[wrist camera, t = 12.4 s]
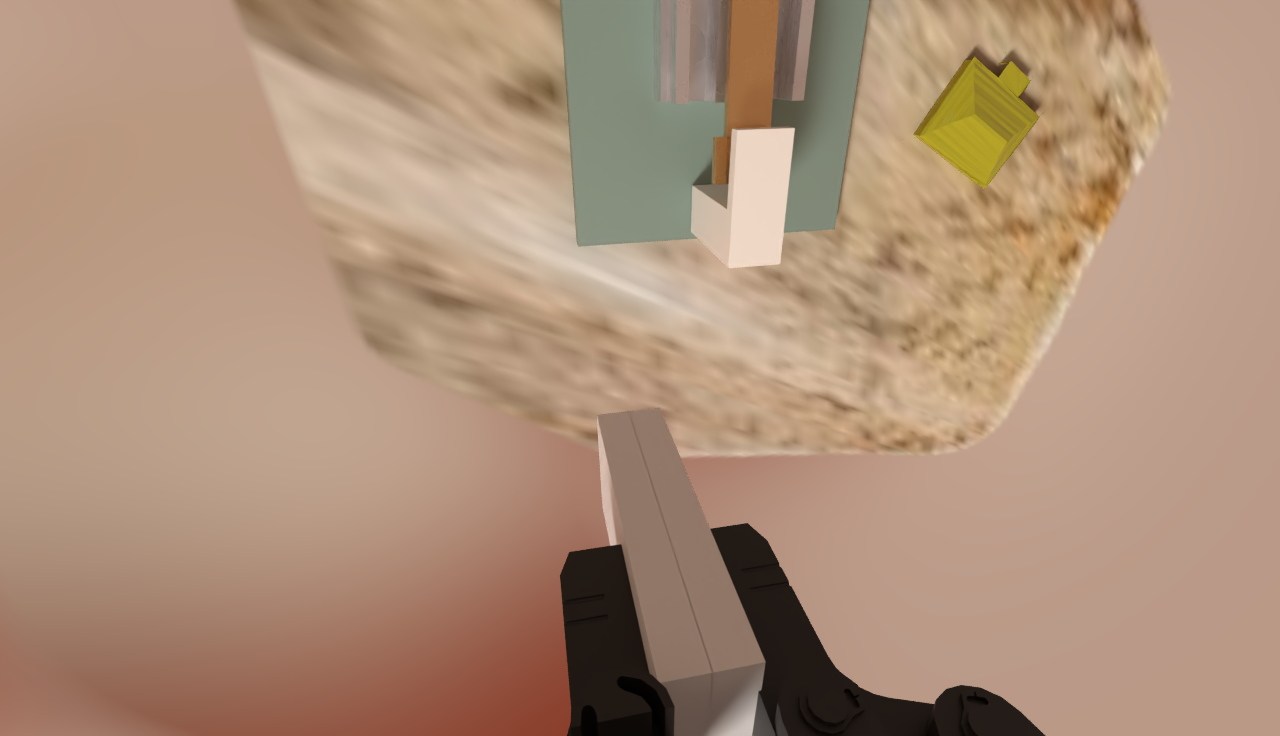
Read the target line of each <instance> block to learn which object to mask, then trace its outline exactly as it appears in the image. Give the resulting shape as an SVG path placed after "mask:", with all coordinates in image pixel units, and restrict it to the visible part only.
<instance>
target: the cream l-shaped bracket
mask: <svg viewBox="0 0 1280 736" xmlns="http://www.w3.org/2000/svg"><path fill="white" fill-rule="evenodd" d="M794 132H795V128H793V127H759V128H732V135H731V152H730V169H729V184H723V185H714V184H709V185H692V212H691V232H692V233H693V234H694V235H695V236H696V237H697V238H698V239H699V240H700V241H701V242H702V243H703V244H704V245H705V246H706V247H707V248H708V249H709V250H710V251H711V252H712V253H713V254H714V255H715V256H716V257H717V258H719V259H720V260H721V261H722V262H723V263H724V264H725V265H726V266H727V267H728V268H736V267H749V266H762V265H775V264H780V260H781V251H782V241H783V232H784V223H785V214H786V205H787V196H788V187H789V177H790V168H791V159H792V150H793V141H794Z"/></svg>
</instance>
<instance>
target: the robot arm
mask: <svg viewBox="0 0 1280 736" xmlns="http://www.w3.org/2000/svg"><path fill="white" fill-rule="evenodd" d="M597 424H598V441H599V458H600V474H601V490H602V505H603V511H604V516H605V521H606V525H607V531H608V536H609V541H610V546H606V547H600V548H593V549H587V550H580V551H574V552H569V554H568V557H567V559H566V562H565V564H564V567H563V569H562V572H561V575H560V580H561V591H562V604H563V616H564V627H565V640H566V651H567V662H568V675H569V686H570V698H571V723H570V727H569V731H568V734H567V736H1045V735H1044V734H1043V733H1042V732H1041V731H1040V730H1039V729H1038V728H1037V727H1036V726H1035V725H1034V724H1032V722H1031V721H1029V720H1028V719H1027V718H1026V717H1025V716H1024V715H1023V714H1022V713H1021V712H1020V711H1019V710H1017V709H1016V708H1015V707H1013V706H1012V705H1011V704H1009V703H1008V702H1007V701H1006V700H1004V699H1003V698H1002V697H1000V696H998V695H995V694H993V693H991V692H989V691H987V690H984V689H982V688H979V687H972V686H964V685H960V686H956V687H953V688H949V689H946V690H945V691H944V692H943V693H942V694H941V695H940V696H939V697H938V698H937V699H936V701H935V704H929V703H922V702H915V701H908V700H901V699H893V698H888V697H883V696H880V695H876V694H873V693H871V692H868V691H866V690H864V689H862V688H860V687H858V685H857V684H856V683H854V682H853V681H852V680H850V679H849V678H847V677H846V676H845V675H843V674H842V673H841V672H840V671H839V670H838V669H837V668H836V667H835V666H834V664H833V663H832V661H831V660H830V658H829V657H828V655H827V653H826V651H825V649H824V648H823V646H822V644H821V642H820V640H819V638H818V636H817V634H816V632H815V631H814V629H813V627H812V625H811V624H810V621H809V619H808V617H807V616H806V613H805V611H804V610H803V608H802V606H801V604H800V602H799V600H798V598H797V596H796V594H795V592H794V591H793V589H792V587H791V586H789V581H788V579H787V577H786V576H785V574H784V572H783V570H782V568H781V567H780V566H779V562H778V560H777V558H776V556H775V554H774V553H773V551H772V549H771V547H770V545H769V543H768V541H767V540H766V539H765V538H764V537H763V536H761V535H760V534H759V533H758V532H757V531H756V530H754V529H753V528H752V527H751V526H750V525H749V524H748V523H745V524H740V525H732V526H726V527H720V528H713V529H710V527H709V525H708V523H707V520H706V518H705V516H704V513H703V510H702V508H701V506H700V503H699V501H698V499H697V496H696V494H695V491H694V489H693V486H692V484H691V482H690V479H689V477H688V474H687V472H686V470H685V467H684V465H683V463H682V460H681V458H680V455H679V453H678V450H677V448H676V446H675V443H674V441H673V438H672V436H671V434H670V431H669V429H668V426H667V424H666V422H665V419H664V417H663V414H662V412H661V410H660V408H653V409H644V410H636V411H627V412H618V413H610V414H601V415H597Z"/></svg>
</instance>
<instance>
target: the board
mask: <svg viewBox="0 0 1280 736" xmlns="http://www.w3.org/2000/svg"><path fill="white" fill-rule="evenodd" d="M869 1H870V0H815V6H814V14H813V23H812V32H811V41H810V50H809V58H808V67H807V76H806V85H805V94H804V100H800V101H790V100H783V99H773V101H772V116H771V127H793V128H795V132H794V141H793V150H792V159H791V168H790V177H789V187H788V196H787V205H786V214H785V223H784V232H783V233H785V232H799V231H814V230H829V229H835V224H836V217H837V211H838V204H839V197H840V191H841V184H842V178H843V171H844V165H845V158H846V152H847V145H848V138H849V132H850V125H851V119H852V112H853V106H854V99H855V93H856V86H857V79H858V73H859V66H860V60H861V53H862V47H863V40H864V33H865V27H866V20H867V14H868V7H869ZM560 3H561V18H562V33H563V47H564V62H565V77H566V91H567V106H568V121H569V135H570V150H571V165H572V179H573V194H574V209H575V223H576V238H577V244H578V246H592V245H607V244H622V243H637V242H651V241H666V240H681V239H696V238H697V237H696V236H695V235H694V234H693V233H692V232H691V212H692V185H709V184H712V153H713V137H723V136H724V112H725V103H713V102H708V101H688V104H674V103H670V102H659V101H655V100H653V0H560Z"/></svg>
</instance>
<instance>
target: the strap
mask: <svg viewBox="0 0 1280 736" xmlns="http://www.w3.org/2000/svg"><path fill="white" fill-rule="evenodd" d="M778 11H779V0H728V24H727V54H726V83H725V112H724V136H723V137H713V153H712V184H714V185H723V184H729V169H730V152H731V135H732V128H759V127H771V116H772V101H773V86H774V71H775V56H776V41H777V26H778Z"/></svg>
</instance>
